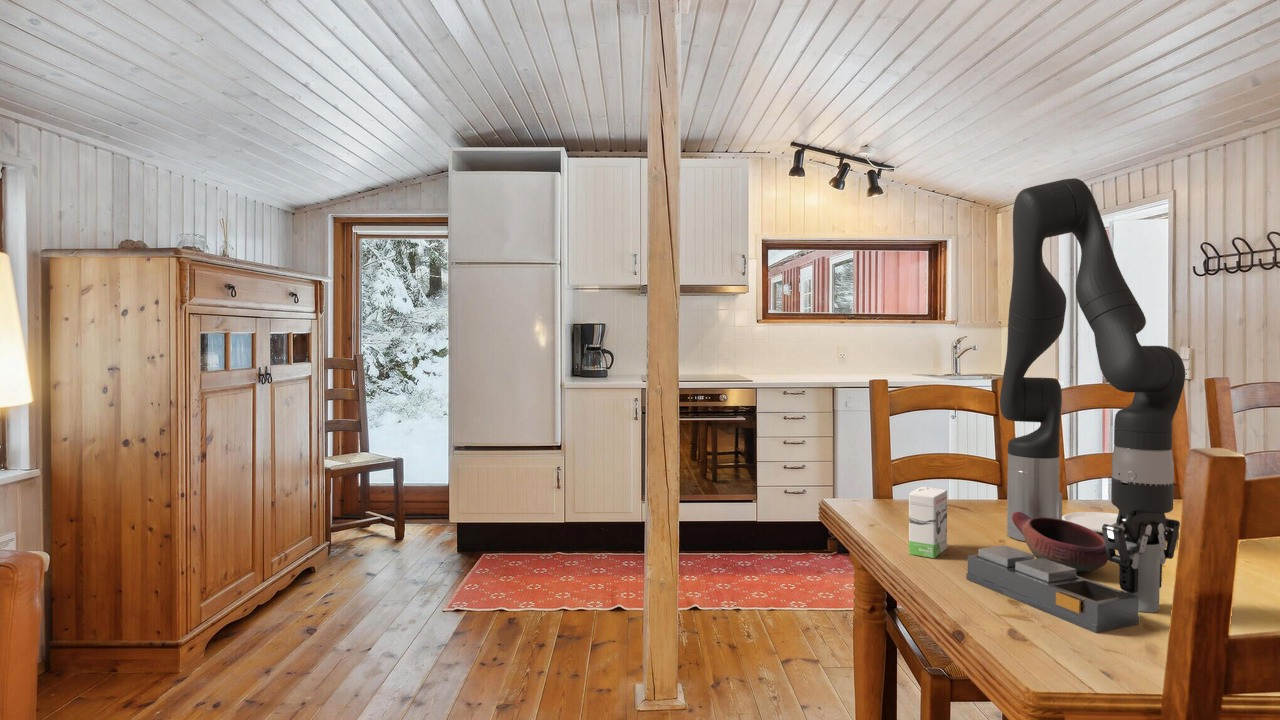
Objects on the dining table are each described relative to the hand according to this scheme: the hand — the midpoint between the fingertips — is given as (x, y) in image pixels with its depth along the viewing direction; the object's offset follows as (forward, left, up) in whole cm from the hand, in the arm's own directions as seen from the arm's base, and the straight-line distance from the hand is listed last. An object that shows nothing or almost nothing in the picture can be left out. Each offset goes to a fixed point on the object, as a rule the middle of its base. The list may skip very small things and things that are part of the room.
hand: (1140, 588), depth 101 cm
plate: (-42, -33, -4) cm, 54 cm away
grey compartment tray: (+11, -7, -3) cm, 13 cm away
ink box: (+10, -33, -3) cm, 35 cm away
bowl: (-5, -18, -3) cm, 19 cm away
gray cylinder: (0, 0, -3) cm, 3 cm away
